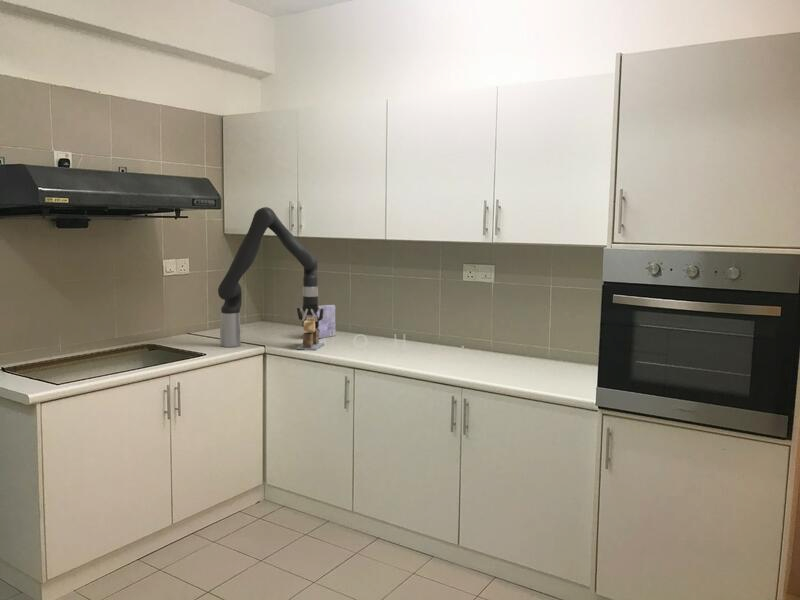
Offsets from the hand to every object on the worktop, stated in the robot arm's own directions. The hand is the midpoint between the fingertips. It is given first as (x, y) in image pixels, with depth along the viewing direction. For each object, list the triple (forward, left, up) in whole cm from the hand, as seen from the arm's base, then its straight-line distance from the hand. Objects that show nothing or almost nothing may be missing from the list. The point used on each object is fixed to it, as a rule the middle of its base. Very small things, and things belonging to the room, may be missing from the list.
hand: (310, 328), depth 328 cm
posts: (0, 0, -10) cm, 10 cm away
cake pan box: (-3, +28, -10) cm, 30 cm away
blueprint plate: (0, 0, -10) cm, 10 cm away
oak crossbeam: (0, 0, -1) cm, 1 cm away
